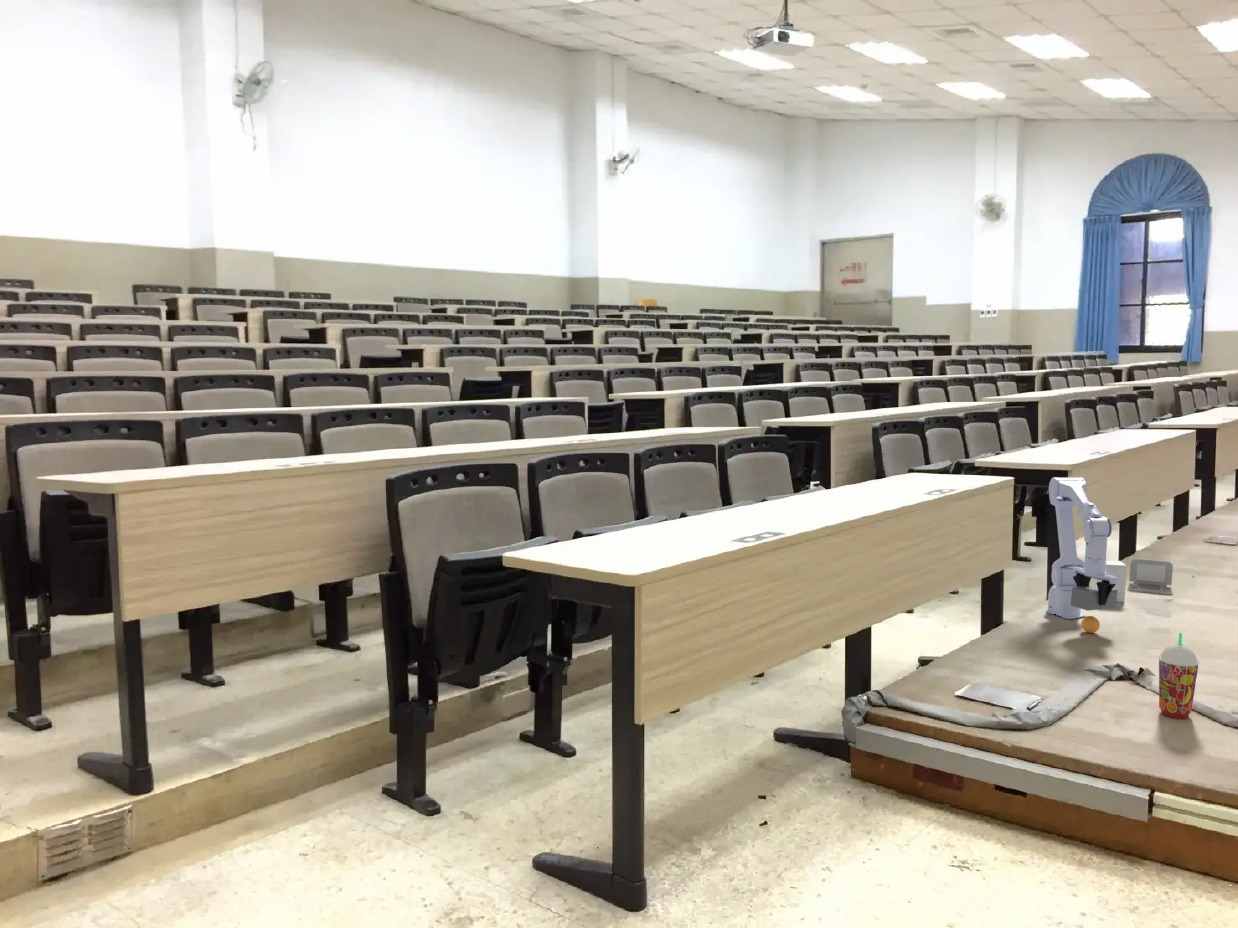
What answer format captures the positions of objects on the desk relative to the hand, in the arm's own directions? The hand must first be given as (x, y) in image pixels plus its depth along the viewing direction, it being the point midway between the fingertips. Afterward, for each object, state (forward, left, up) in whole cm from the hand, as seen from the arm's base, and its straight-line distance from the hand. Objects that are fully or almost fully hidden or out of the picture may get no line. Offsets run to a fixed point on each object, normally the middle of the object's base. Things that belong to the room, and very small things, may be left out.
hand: (1092, 601), depth 303 cm
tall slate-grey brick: (0, 0, -2) cm, 2 cm away
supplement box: (-24, +36, -10) cm, 44 cm away
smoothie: (+55, -35, -10) cm, 66 cm away
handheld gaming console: (-27, +58, -10) cm, 65 cm away
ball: (0, -1, -7) cm, 7 cm away
